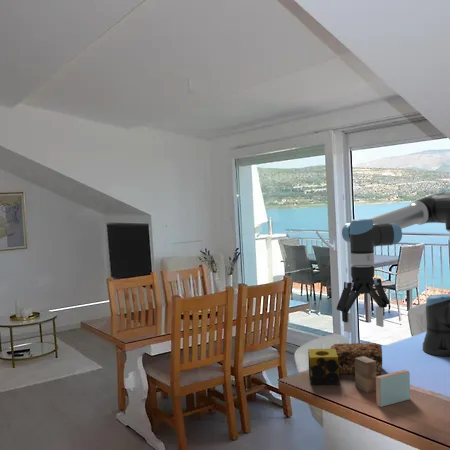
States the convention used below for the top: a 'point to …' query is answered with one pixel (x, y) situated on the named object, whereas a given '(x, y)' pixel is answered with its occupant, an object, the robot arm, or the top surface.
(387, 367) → the top surface
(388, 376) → the tile
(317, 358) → the yellow spotted cube
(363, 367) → the light brown rectangular block
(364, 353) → the bread
